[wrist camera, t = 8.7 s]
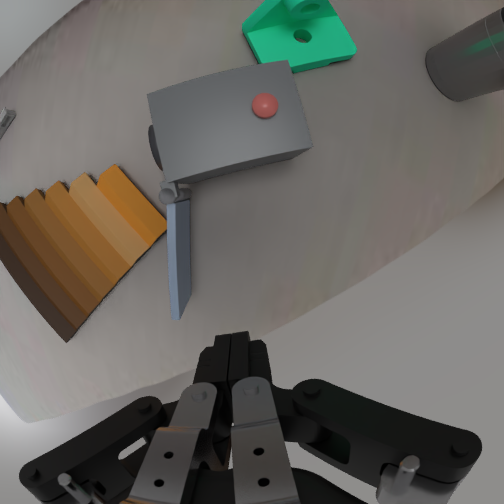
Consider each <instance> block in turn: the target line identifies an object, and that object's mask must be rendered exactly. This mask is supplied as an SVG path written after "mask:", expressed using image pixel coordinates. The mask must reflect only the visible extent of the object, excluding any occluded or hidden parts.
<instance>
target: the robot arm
mask: <svg viewBox="0 0 504 504" xmlns="http://www.w3.org/2000/svg"><path fill="white" fill-rule="evenodd" d="M426 65H427V69H428V72H429V74H430V77H431V78H432V80H433V82H434V84H435V85H436V86H437V88H438V89H439V90H440V91H441V92H442V93H443V94H444V95H446V96H447V97H448V98H450V99H452V100H455V101H463V100H466V99H470V98H473V97H477V96H481V95H484V94H488V93H492V92H495V91H499V90H503V89H504V7H503V8H501V9H499V10H497V11H495V12H494V13H492V14H490V15H488V16H486V17H484V18H483V19H481V20H479V21H477V22H475V23H474V24H472V25H470V26H468V27H466V28H465V29H463V30H461V31H460V32H458V33H456V34H454V35H453V36H451V37H449V38H448V39H446V40H444V41H443V42H441V43H439V44H438V45H436V46H434V47H433V48H431V49H430V50H429V51H428V52H427V55H426ZM232 423H234V426H232ZM142 437H143V438H144V440H145V441H146V444H145V445H143V446H142V447H140V448H139V449H137V450H136V451H134V452H133V453H131V454H130V455H128V456H127V457H126V458H124V459H121V460H119V459H118V456H119V453H120V452H121V451H122V450H124V449H125V448H127V447H128V446H130V445H131V444H133V443H134V442H135V441H137V440H139V439H140V438H142ZM284 441H287V442H298V444H299V445H300V447H302V448H303V449H304V450H306V451H308V452H309V453H311V454H313V455H315V456H316V457H318V458H320V459H322V460H323V461H325V462H327V463H328V464H330V465H332V466H334V467H336V468H338V469H340V470H342V471H343V472H345V473H347V474H349V475H351V476H353V477H355V478H357V479H359V480H361V481H363V482H365V483H368V484H369V485H372V486H374V487H376V488H377V490H376V499H377V501H378V502H379V504H447V502H448V500H449V499H450V497H451V495H452V494H453V492H454V491H455V490H456V488H457V487H458V486H459V485H460V483H461V482H462V481H463V479H464V478H465V477H466V475H467V474H468V472H469V471H470V470H471V468H472V467H473V465H474V464H475V462H476V461H477V459H478V458H479V456H480V454H481V451H482V443H481V440H480V439H479V437H478V436H477V435H476V434H475V433H473V432H471V431H468V430H463V429H460V428H456V427H453V426H449V425H446V424H442V423H439V422H435V421H432V420H429V419H426V418H423V417H419V416H416V415H413V414H410V413H407V412H404V411H401V410H398V409H396V408H393V407H390V406H387V405H384V404H382V403H379V402H376V401H374V400H371V399H368V398H365V397H363V396H360V395H358V394H355V393H353V392H350V391H348V390H345V389H343V388H341V387H338V386H335V385H333V384H331V383H329V382H326V381H324V380H320V379H308V380H305V381H302V382H300V383H298V384H297V385H296V386H295V387H294V388H293V390H291V389H289V390H288V389H282V388H279V387H276V386H275V385H273V384H272V376H271V369H270V364H269V358H268V353H267V348H266V344H265V343H264V342H263V341H262V340H254V341H250V336H249V332H248V331H244V332H237V333H232V334H224V335H216V336H215V341H214V346H212V347H206V348H205V349H204V350H203V351H202V352H201V353H200V357H199V362H198V365H197V369H196V373H195V377H194V381H193V385H190V386H189V387H187V388H186V389H185V390H184V391H183V392H182V394H181V397H180V399H179V400H178V401H175V402H171V403H167V404H163V405H162V403H161V401H160V400H159V399H158V398H156V397H152V396H146V397H142V398H139V399H137V400H135V401H134V402H132V403H130V404H129V405H127V406H126V407H124V408H122V409H121V410H119V411H118V412H116V413H114V414H113V415H111V416H110V417H108V418H106V419H105V420H103V421H101V422H100V423H98V424H96V425H95V426H93V427H91V428H90V429H88V430H86V431H85V432H83V433H81V434H80V435H78V436H76V437H74V438H72V439H71V440H69V441H67V442H66V443H64V444H62V445H60V446H58V447H57V448H55V449H53V450H51V451H49V452H47V453H45V454H43V455H42V456H40V457H38V458H36V459H34V460H32V461H30V462H28V463H27V464H25V465H24V466H23V467H22V469H21V470H20V473H19V479H20V482H21V483H22V484H23V486H25V487H26V488H27V489H28V490H29V491H30V492H31V493H32V494H33V495H34V496H35V497H36V498H37V499H38V500H39V501H40V502H41V503H42V504H368V503H366V502H364V501H362V500H360V499H358V498H357V497H355V496H353V495H351V494H349V493H348V492H346V491H344V490H342V489H341V488H339V487H337V486H336V485H334V484H332V483H331V482H329V481H328V480H326V479H325V478H323V477H321V476H319V475H317V474H315V473H313V472H310V471H307V470H303V469H299V468H292V467H291V466H290V462H289V458H288V454H287V450H286V446H285V442H284ZM231 447H232V460H233V468H232V469H228V467H229V460H230V454H231Z"/></svg>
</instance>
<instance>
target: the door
mask: <svg viewBox="0 0 504 504" xmlns="http://www.w3.org/2000/svg"><path fill="white" fill-rule="evenodd" d="M179 192H180V195H181V196H180V197H178V198H177V200H176V202H174V203H172V204H167V247H168V271H169V289H170V303H171V316H172V320H180V318H181V316H182V314H183V312H184V309H185V307H186V305H187V303H188V301H189V298H190V296H191V272H190V200H184V199H188V198H190V197H191V194H192V193H191V190H190V189H188V188H181V189H179Z"/></svg>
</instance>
